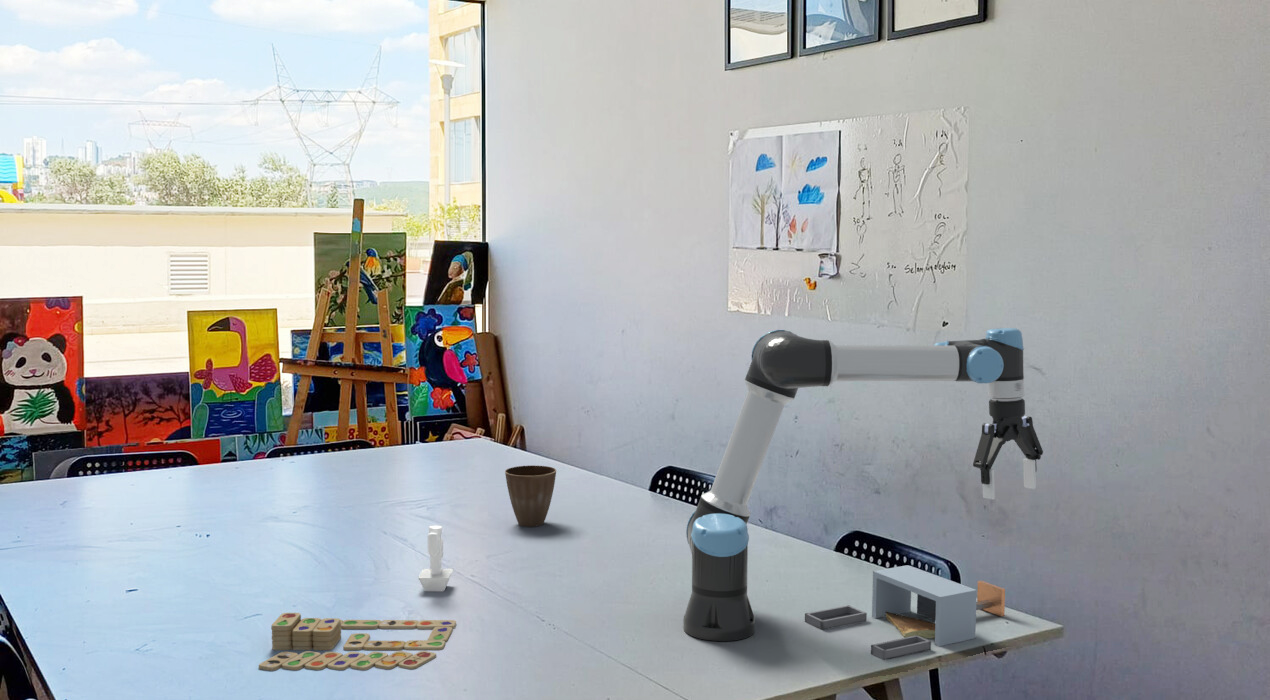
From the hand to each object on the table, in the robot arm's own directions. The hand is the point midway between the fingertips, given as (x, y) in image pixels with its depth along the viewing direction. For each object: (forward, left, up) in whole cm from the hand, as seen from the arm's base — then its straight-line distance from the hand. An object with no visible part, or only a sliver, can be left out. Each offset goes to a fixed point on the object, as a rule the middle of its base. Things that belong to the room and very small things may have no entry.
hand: (1009, 493), depth 241 cm
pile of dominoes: (-133, +44, -27) cm, 143 cm away
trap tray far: (-39, +11, -26) cm, 49 cm away
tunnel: (-25, -1, -26) cm, 37 cm away
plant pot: (-64, +120, -26) cm, 139 cm away
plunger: (-13, -1, -26) cm, 29 cm away
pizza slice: (-29, 0, -27) cm, 40 cm away
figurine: (-108, +73, -26) cm, 134 cm away
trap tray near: (-39, -10, -26) cm, 48 cm away
